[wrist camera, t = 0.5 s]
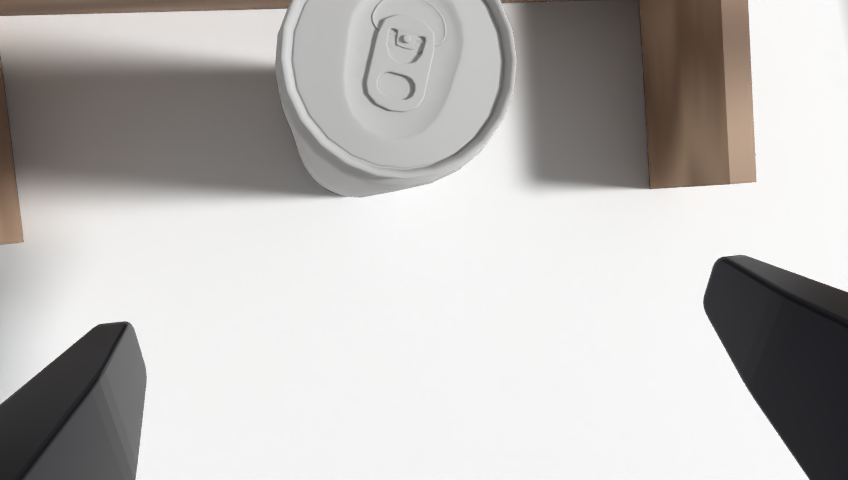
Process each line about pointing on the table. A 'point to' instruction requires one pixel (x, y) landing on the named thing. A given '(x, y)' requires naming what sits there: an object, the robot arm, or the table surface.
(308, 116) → the beverage can
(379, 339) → the table surface
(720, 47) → the frame
